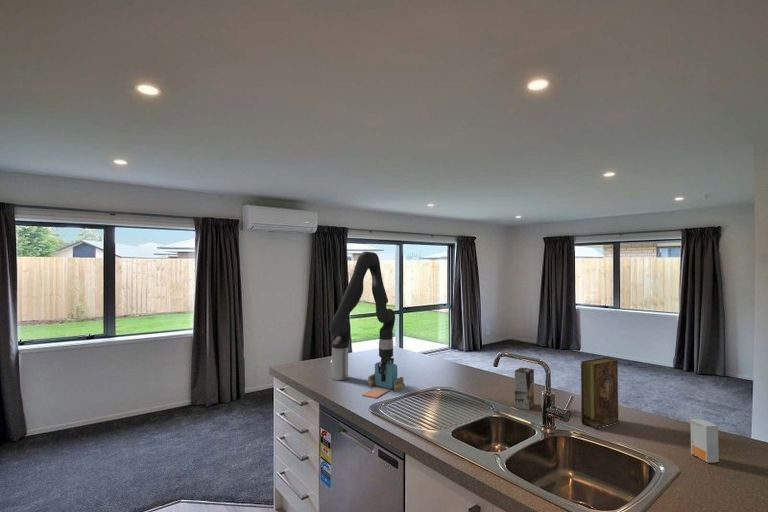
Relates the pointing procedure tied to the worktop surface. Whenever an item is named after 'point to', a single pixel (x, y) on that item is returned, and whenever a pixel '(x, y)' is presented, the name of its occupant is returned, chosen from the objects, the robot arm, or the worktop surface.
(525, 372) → the coffee box
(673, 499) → the worktop surface
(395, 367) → the blue flat block
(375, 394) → the terracotta pad
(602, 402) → the book
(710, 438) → the skincare box
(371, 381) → the oak rack
